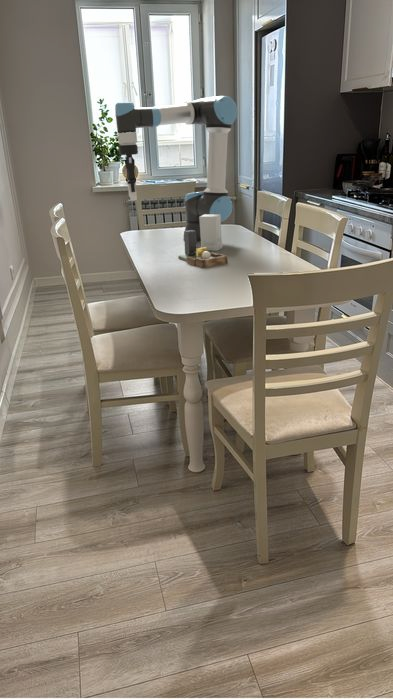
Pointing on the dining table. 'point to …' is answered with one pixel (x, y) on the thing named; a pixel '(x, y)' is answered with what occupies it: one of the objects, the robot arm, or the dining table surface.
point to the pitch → (205, 260)
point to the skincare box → (211, 231)
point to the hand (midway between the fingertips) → (132, 198)
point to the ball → (206, 255)
